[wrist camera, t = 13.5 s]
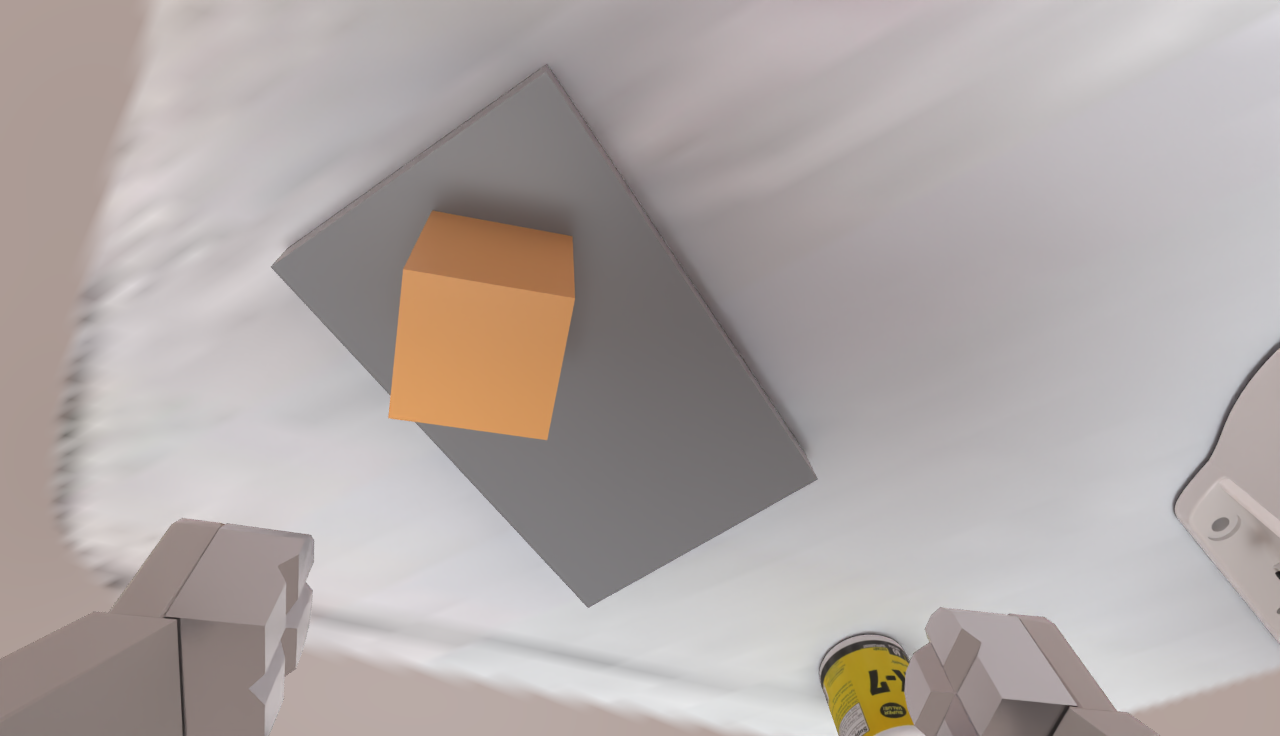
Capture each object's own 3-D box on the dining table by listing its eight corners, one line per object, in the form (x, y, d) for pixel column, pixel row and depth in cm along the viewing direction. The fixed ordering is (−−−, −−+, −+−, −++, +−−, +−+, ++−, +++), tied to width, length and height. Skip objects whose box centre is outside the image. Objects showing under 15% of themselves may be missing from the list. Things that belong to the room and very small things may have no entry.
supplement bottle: (921, 641, 44) (995, 785, 36) (879, 703, 45) (942, 851, 38) (841, 622, 42) (901, 766, 35) (802, 686, 44) (850, 836, 37)
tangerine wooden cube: (572, 236, 30) (575, 298, 25) (549, 358, 32) (547, 440, 27) (431, 210, 29) (403, 269, 24) (417, 337, 31) (388, 418, 26)
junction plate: (805, 454, 38) (854, 554, 31) (586, 578, 40) (591, 695, 33) (547, 64, 29) (543, 95, 23) (287, 248, 31) (219, 323, 25)
